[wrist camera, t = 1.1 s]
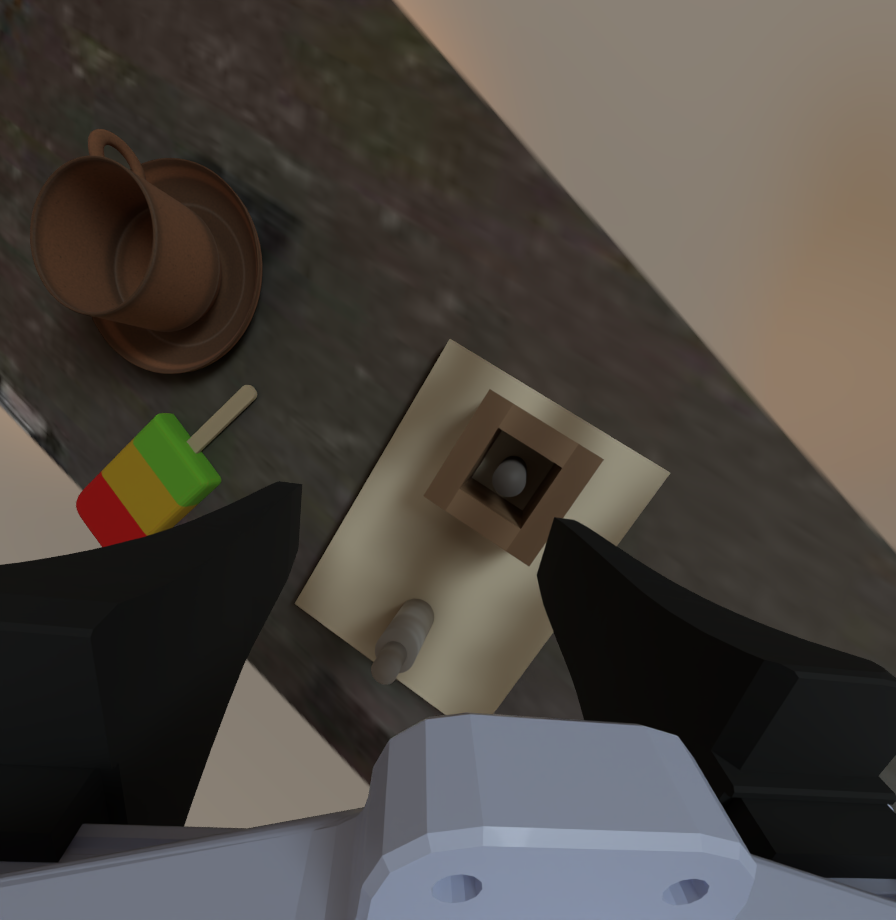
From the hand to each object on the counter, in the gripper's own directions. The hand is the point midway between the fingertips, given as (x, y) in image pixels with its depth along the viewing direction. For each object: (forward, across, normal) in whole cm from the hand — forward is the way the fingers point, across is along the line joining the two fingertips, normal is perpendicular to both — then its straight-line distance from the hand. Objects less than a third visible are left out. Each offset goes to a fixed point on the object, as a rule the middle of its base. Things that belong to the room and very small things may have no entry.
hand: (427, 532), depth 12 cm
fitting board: (+10, -4, +6) cm, 12 cm away
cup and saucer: (+19, +15, -4) cm, 25 cm away
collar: (+10, -5, +1) cm, 11 cm away
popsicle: (+16, +15, +7) cm, 23 cm away
